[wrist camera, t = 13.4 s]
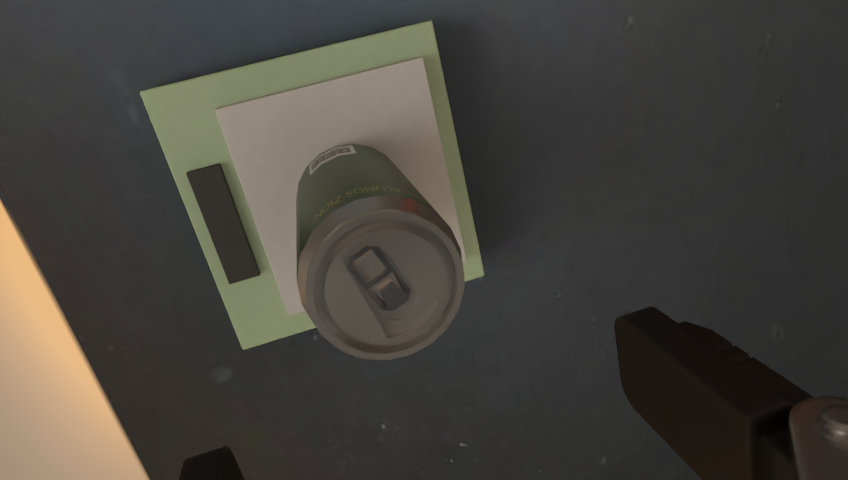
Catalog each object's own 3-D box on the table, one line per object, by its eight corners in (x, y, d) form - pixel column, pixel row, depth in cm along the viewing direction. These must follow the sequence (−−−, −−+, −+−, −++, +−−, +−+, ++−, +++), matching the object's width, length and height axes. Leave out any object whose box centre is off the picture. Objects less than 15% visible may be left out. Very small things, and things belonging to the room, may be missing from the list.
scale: (246, 325, 33) (241, 358, 30) (153, 87, 28) (134, 92, 25) (470, 258, 35) (489, 281, 31) (419, 22, 30) (436, 19, 26)
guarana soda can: (273, 184, 27) (257, 275, 16) (363, 119, 27) (410, 166, 16) (339, 265, 29) (366, 397, 18) (424, 205, 29) (502, 300, 18)
